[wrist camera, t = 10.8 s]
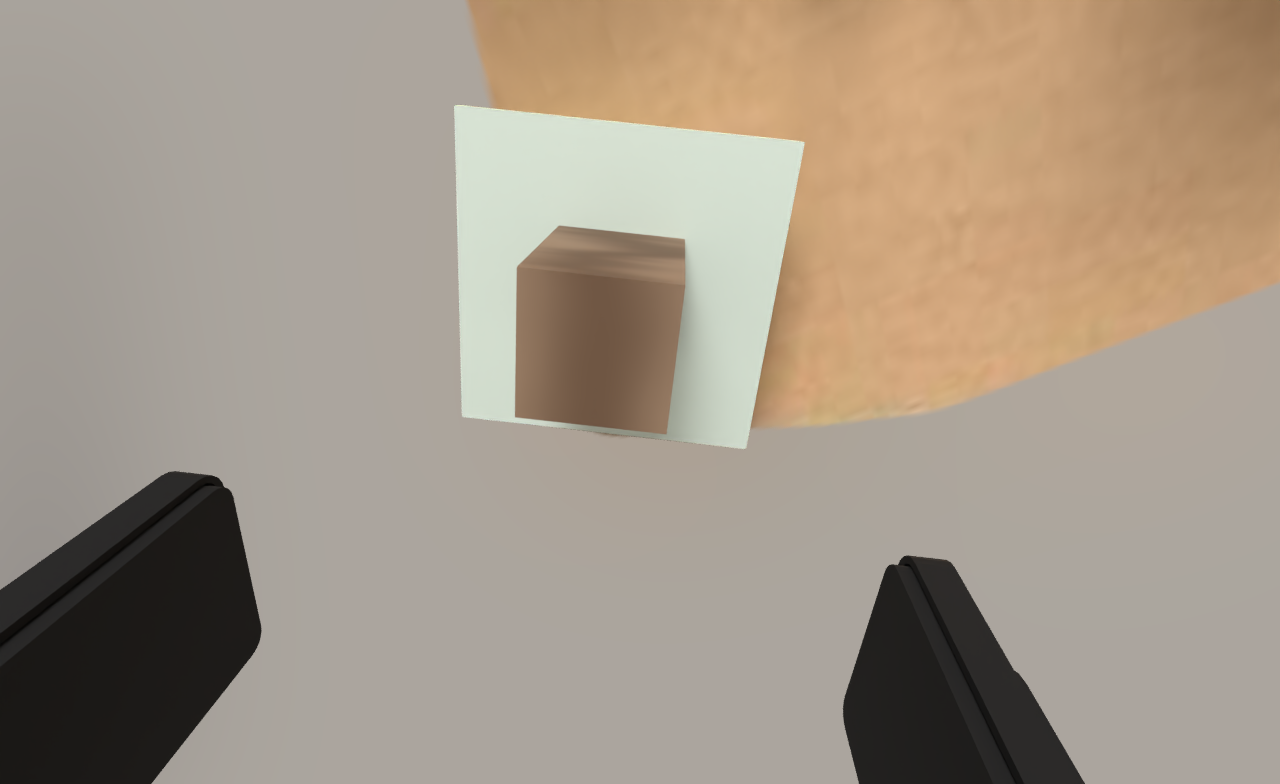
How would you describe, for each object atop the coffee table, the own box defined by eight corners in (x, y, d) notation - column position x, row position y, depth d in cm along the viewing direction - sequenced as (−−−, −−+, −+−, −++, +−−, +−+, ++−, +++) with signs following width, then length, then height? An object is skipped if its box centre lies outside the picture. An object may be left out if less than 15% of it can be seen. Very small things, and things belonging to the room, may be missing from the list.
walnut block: (684, 238, 25) (685, 285, 19) (670, 356, 27) (666, 434, 21) (559, 225, 25) (516, 266, 19) (554, 343, 27) (514, 417, 21)
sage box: (781, 134, 29) (804, 142, 23) (736, 394, 34) (746, 449, 29) (497, 105, 29) (454, 105, 23) (497, 367, 34) (461, 416, 29)
